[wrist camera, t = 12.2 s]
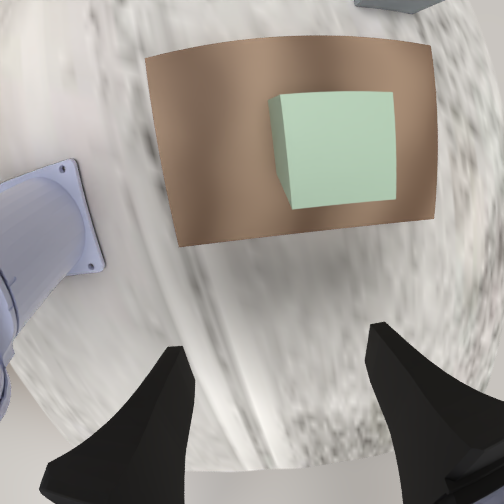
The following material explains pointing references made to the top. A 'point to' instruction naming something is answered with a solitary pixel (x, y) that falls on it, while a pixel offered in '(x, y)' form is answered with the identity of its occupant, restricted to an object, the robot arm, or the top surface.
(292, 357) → the top surface
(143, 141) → the top surface
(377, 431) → the top surface
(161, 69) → the walnut board
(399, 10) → the slate block
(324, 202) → the sage block
